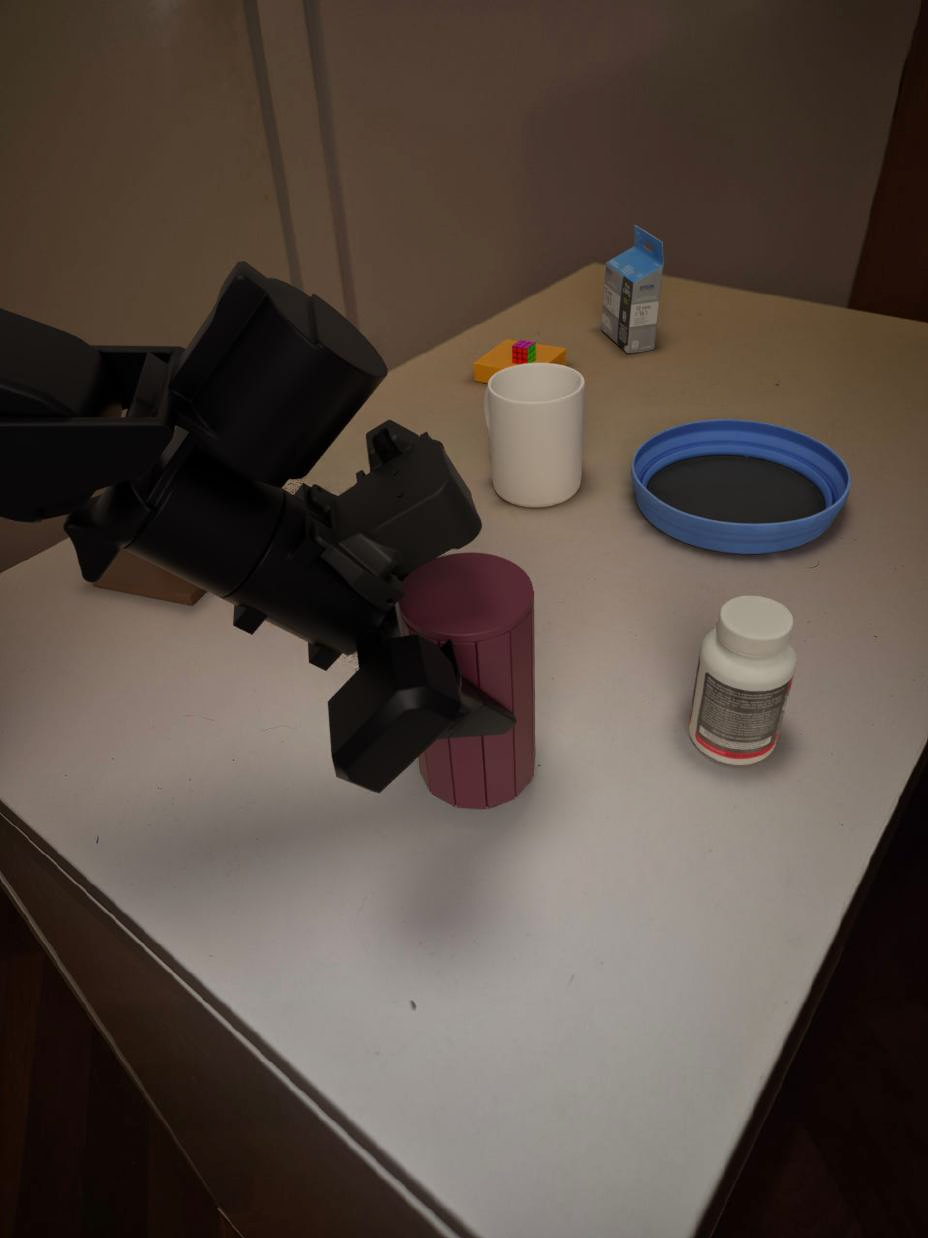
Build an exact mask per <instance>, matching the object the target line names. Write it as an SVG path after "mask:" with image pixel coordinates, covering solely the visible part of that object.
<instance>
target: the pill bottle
mask: <svg viewBox="0 0 928 1238" xmlns="http://www.w3.org/2000/svg"><path fill="white" fill-rule="evenodd" d="M793 628H794V617H793V615H792V613H791V612H790V610H789V609H788V608H787V607H786V606H785V605H784V604H782V603H781V602H778V601H777V600H774V599H772V598H769V597H767V596H760V595H751V594H750V595H740V596H735V597H734V598H730V599H728V600H727V601H726V602H725V603H724V604H723V605H722V606H721V607H720V609H719V612H718V618H717V622H716V625H715V627H713V629H711V630H710V631H709V632H708V633H707V634H706V635H705V637H704V638H703V639H702V641H701V644H700V648H699V653H698V660H697V666H696V672H695V679H694V686H693V692H692V698H691V706H690V711H689V712H690V713H689V721H688V732H689V737H690V738H691V740H692V742H693V744H694V745H695V747H697V748H698V750H699V751H701V752H702V753H703V754H704V755H706V756H707V757H709V758H711V759H713V760H715V761H717V762H719V763H722V764H723V763H724V764H727V765H733V766H747V765H752V764H756V763H758V762H760V761H762V760H765V759H766V758H768V756H770V755H771V754H772V752H773V751H774V749H775V747H776V744H777V741H778V737H779V734H780V730H781V727H782V722H783V719H784V715H785V712H786V708H787V707H786V706H787V703H788V699H789V696H790V691H791V689H792V684H793V681H794V677H795V672H796V669H797V662H798V661H797V653H796V650H795V648H794V646H793V645H792V643H791V640H792V633H793Z"/></svg>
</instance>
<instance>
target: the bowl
mask: <svg viewBox="0 0 928 1238" xmlns="http://www.w3.org/2000/svg"><path fill="white" fill-rule="evenodd" d="M630 479H631V484H632V487H633V490H634V493H635V498H636V503H637V505H638V508H639V510H640V512H641V513H642V514H643V516H644V517H645V518H646V519H647V520H648V521H649V522H650V523H651V525H653V526H654V527H655V528H656V529H658V530H659V531H661V533H664V534H665V535H667V536H669V537H672V538H673V539H676V540H677V541H680V542H681V543H685V544H687V545H691V546H693V547H696V548H701V549H705V550H709V551H713V552H720V553H725V554H736V555H762V554H771V553H773V554H774V553H779V552H783V551H789V550H792V549H796V548H799V547H801V546H804V545H807V544H808V543H811V542H812V541H814V540H816V539H817V538H818V537H820V536H822V535H823V534H824V533H825V532H826V531H827V530H828V529H829V528H830V527H831V525H832V524H833V522H834V520H835V518H836V516H837V515H838V514H839V513H840V511H841V510H842V508H843V506H844V505H845V504H846V502H847V500H848V497H849V494H850V490H851V484H852V475H851V472H850V469H849V467H848V465H847V463H846V462H845V460H844V459H843V458H842V457H841V456H840V455H839V454H838V453H837V452H836V451H835V450H833V449H832V448H831V447H830V446H828V445H827V444H825V443H824V442H822V441H820V440H819V439H817V438H815V437H813V436H810V435H808V434H806V433H803V432H801V431H798V430H795V429H793V428H789V427H786V426H783V425H778V424H774V423H769V422H764V421H757V420H751V419H750V420H749V419H739V418H738V419H737V418H717V419H716V418H715V419H705V420H703V419H702V420H696V421H691V422H690V421H689V422H686V423H682V424H678V425H674V426H672V427H669V428H666V429H663V430H662V431H659V432H657V433H656V434H654V435H652V436H650V437H649V438H647V439H646V440H645V441H644V442H642V443H641V444H640V445H639V446H638V448H637V449H636V450H635V452H634V453H633V455H632V460H631V467H630Z"/></svg>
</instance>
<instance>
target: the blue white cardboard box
mask: <svg viewBox="0 0 928 1238" xmlns="http://www.w3.org/2000/svg"><path fill="white" fill-rule="evenodd" d="M648 243H649V246H650V247H652V250H653V251H652V250H651V249H649V248H647V247H646V246H645V244H648ZM664 264H665V261H664V242H663V241H662V240H660V239H659V238H657V237H656V236H654V235H653V234H651V233H650V232H648V231H646V230H644V229H643V228H641V227H639V226H638V225H636V224H634V225H633V246H631V247H629V248H628V249H626V250H625V251H623V252H622V253H620V254H618V255H616V256H614V257H613V258H611V259H610V260H608V261H607V262H605V269H604V270H605V271H604V284H603V298H602V310H601V311H602V312H601V323H600V330H601V331H602V332H603V333H604V334H606V335H607V336H608V337H609V338H610V339H611V340H612V341H613V342H614V343H616V344H617V345H618V346H619V347H620V348H621V349H622V350H623V351H625V352H626V353H627V354H632V353H633V354H634V353H642V352H643V353H644V352H649V351H654V350H655V347H656V337H657V336H656V335H657V326H658V318H659V317H658V316H659V309H660V299H661V289H662V279H663V272H664V266H665V265H664Z"/></svg>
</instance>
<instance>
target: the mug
mask: <svg viewBox="0 0 928 1238" xmlns="http://www.w3.org/2000/svg"><path fill="white" fill-rule="evenodd" d="M585 384H586V383H585V378H584V376H583V375H582V374H581V372H579V371H578V370H576V369H574V368H573V367H570V366H567V365H566V366H563V365H559V364H552V363H527V364H520V365H515V366H511V367H508V368H505V369H503V370H501V371H499V372H497V373H495V374H494V375H493V376H492V377H491V378H490V380H489V382H488V383H487V387H486V389H485V391H484V394H483V401H482V409H483V418H484V422H485V423H484V424H485V426H486V429H487V432H488V434H489V437H490V438H489V441H490V442H489V444H490V461H491V464H490V465H491V466H490V467H491V479H492V485H493V488H494V491H495V492H496V493H497V495H498V496H499V497H500V498H502V499H503V501H505V502H508V503H509V504H513V505H515V506H519V507H523V508H532V509H533V508H536V509H537V508H547V507H552V506H556V505H559V504H562V503H564V502H566V501H568V500H570V499H571V498H572V497H574V495H575V494H576V493H577V492H578V490H579V489H580V487H581V482H582V475H583V455H584V454H583V451H584V449H583V448H584V420H585V419H584V417H585Z"/></svg>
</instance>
